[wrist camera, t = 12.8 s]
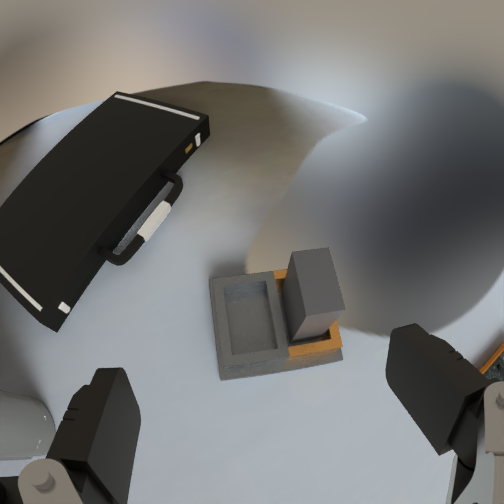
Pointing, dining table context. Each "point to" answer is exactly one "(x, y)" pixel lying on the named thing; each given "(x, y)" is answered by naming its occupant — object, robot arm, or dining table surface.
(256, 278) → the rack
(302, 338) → the grey rectangular block
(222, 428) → the dining table surface
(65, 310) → the briefcase
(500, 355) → the multimeter
